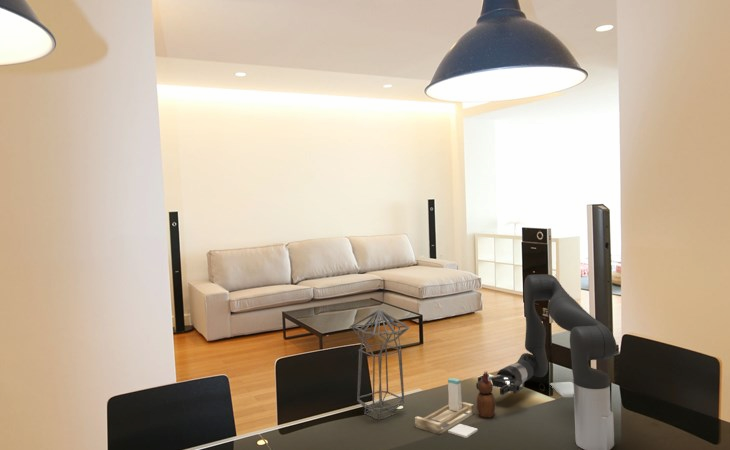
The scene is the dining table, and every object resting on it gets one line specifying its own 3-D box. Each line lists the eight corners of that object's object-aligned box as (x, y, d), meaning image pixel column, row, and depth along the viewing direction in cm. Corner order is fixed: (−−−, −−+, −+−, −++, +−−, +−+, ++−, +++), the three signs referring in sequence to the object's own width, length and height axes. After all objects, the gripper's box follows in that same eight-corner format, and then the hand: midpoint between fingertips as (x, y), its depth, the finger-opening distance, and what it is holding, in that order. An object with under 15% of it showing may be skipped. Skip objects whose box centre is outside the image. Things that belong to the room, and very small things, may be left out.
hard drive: (549, 382, 193) (563, 394, 180) (571, 381, 193) (586, 392, 181) (550, 387, 193) (563, 398, 180) (571, 385, 193) (586, 397, 181)
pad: (477, 430, 156) (477, 428, 156) (466, 438, 152) (466, 436, 152) (459, 425, 161) (459, 423, 161) (448, 432, 156) (447, 430, 156)
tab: (461, 410, 169) (460, 379, 169) (458, 411, 168) (457, 381, 168) (452, 407, 172) (451, 377, 171) (449, 409, 170) (447, 379, 170)
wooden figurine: (496, 420, 164) (494, 373, 163) (477, 419, 165) (475, 372, 165) (495, 411, 170) (493, 366, 170) (477, 411, 172) (475, 366, 171)
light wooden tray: (474, 413, 170) (473, 404, 170) (439, 434, 155) (438, 424, 155) (450, 407, 176) (450, 398, 176) (415, 427, 161) (414, 417, 161)
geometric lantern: (384, 401, 184) (382, 304, 183) (413, 415, 171) (412, 311, 170) (348, 412, 175) (346, 310, 174) (376, 428, 162) (374, 317, 161)
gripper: (493, 362, 186) (469, 373, 174) (531, 369, 176) (508, 381, 164) (494, 383, 186) (470, 396, 174) (532, 391, 176) (509, 405, 164)
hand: (489, 389), depth 169 cm, fingers open, 8 cm apart
